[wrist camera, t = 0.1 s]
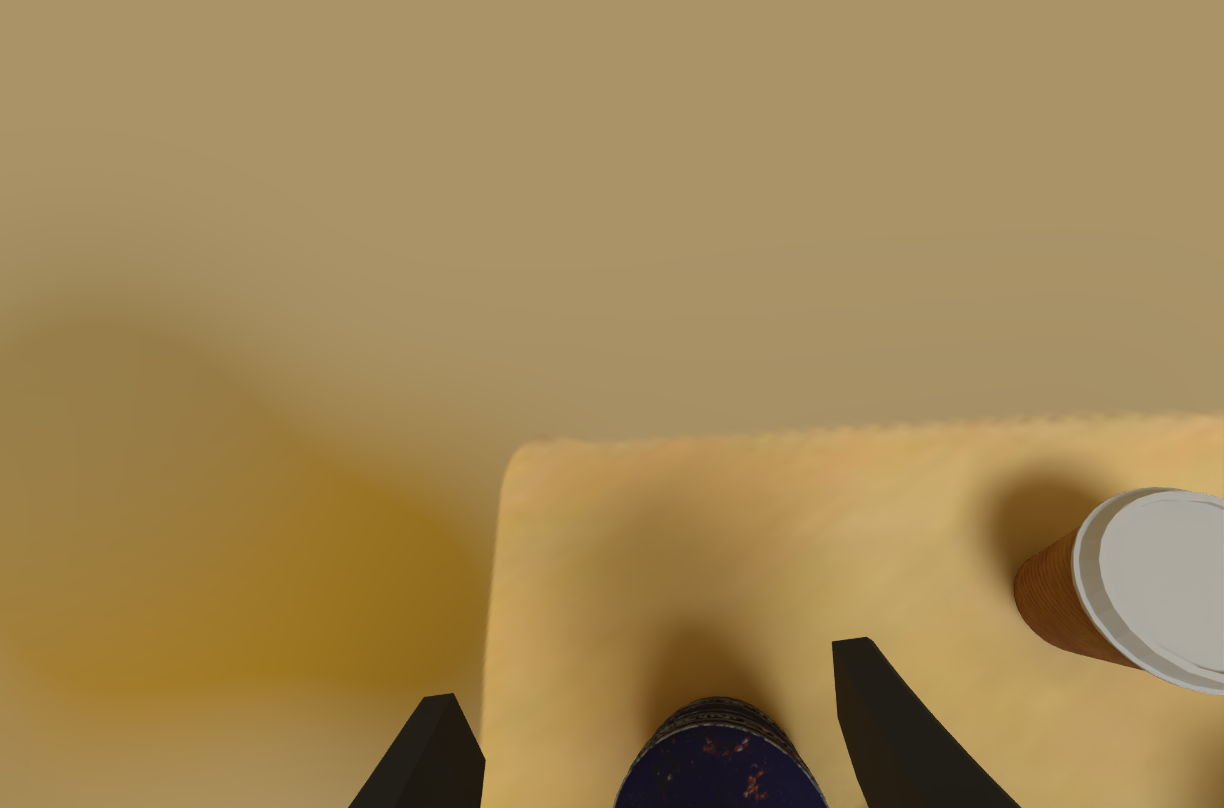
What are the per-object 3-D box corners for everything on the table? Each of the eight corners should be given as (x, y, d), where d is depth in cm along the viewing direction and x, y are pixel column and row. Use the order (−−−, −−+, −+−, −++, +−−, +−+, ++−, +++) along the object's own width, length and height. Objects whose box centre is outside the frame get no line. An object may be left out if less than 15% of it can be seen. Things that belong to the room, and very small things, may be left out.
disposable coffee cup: (1035, 700, 36) (1170, 724, 25) (959, 549, 40) (1046, 512, 29) (1192, 658, 35) (1400, 664, 24) (1099, 509, 39) (1241, 456, 28)
